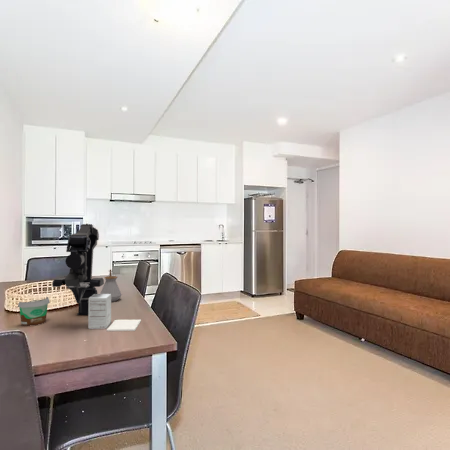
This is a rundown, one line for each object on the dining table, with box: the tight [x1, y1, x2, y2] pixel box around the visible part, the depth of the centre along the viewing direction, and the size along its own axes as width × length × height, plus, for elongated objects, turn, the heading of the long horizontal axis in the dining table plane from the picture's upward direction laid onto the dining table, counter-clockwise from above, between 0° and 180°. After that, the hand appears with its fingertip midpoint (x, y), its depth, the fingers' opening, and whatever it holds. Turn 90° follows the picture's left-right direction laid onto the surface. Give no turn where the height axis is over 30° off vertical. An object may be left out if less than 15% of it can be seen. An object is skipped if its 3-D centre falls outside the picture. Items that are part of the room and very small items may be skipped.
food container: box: [17, 296, 50, 327], centre depth 135 cm, size 12×6×10 cm, turn 148°
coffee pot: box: [99, 268, 123, 303], centre depth 181 cm, size 21×12×15 cm, turn 20°
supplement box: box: [87, 293, 112, 330], centre depth 133 cm, size 7×7×13 cm
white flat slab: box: [106, 319, 142, 332], centre depth 134 cm, size 11×13×1 cm
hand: (78, 303), depth 132 cm, fingers closed
